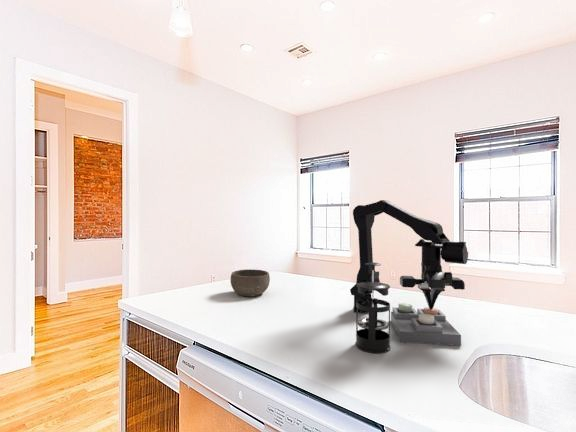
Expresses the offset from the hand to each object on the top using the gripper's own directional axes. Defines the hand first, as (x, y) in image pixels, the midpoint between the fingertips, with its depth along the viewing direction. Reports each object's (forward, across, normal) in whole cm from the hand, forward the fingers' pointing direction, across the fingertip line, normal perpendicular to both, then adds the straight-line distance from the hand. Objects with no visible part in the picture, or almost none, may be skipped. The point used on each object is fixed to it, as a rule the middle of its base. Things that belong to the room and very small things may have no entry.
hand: (430, 308), depth 106 cm
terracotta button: (+2, 0, 0) cm, 2 cm away
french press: (+6, -20, -20) cm, 29 cm away
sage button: (+1, -8, 0) cm, 8 cm away
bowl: (+6, -70, +31) cm, 77 cm away
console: (+6, -4, -6) cm, 9 cm away
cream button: (+1, -4, -11) cm, 12 cm away
